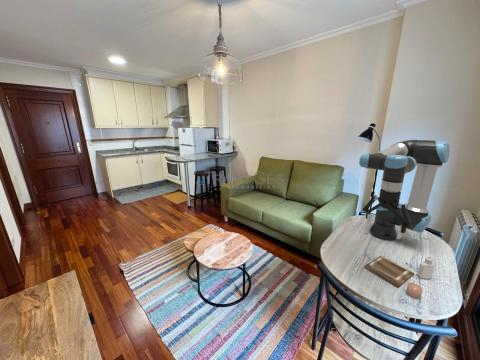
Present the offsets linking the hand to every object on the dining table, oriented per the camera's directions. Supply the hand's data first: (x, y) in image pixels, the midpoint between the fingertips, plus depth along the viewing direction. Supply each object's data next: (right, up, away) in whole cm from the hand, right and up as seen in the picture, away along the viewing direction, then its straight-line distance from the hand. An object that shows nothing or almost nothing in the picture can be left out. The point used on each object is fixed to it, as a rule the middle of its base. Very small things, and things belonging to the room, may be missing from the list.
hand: (382, 231), depth 95 cm
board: (+9, -23, +9) cm, 26 cm away
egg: (+10, -27, -5) cm, 30 cm away
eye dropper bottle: (+24, -24, +4) cm, 34 cm away
